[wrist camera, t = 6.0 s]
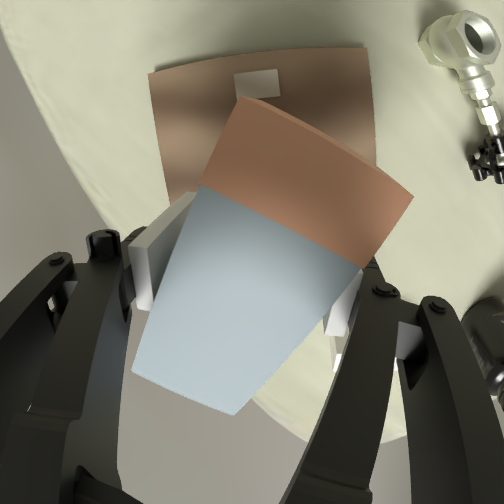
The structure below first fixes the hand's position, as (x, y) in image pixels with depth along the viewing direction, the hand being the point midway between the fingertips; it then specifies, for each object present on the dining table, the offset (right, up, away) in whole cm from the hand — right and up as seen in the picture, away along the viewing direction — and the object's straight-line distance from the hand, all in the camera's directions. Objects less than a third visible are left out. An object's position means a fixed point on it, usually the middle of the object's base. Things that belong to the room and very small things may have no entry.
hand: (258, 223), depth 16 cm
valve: (+16, +12, +2) cm, 20 cm away
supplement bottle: (+26, -9, +11) cm, 29 cm away
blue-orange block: (0, 0, -1) cm, 1 cm away
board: (+1, +4, +7) cm, 8 cm away
